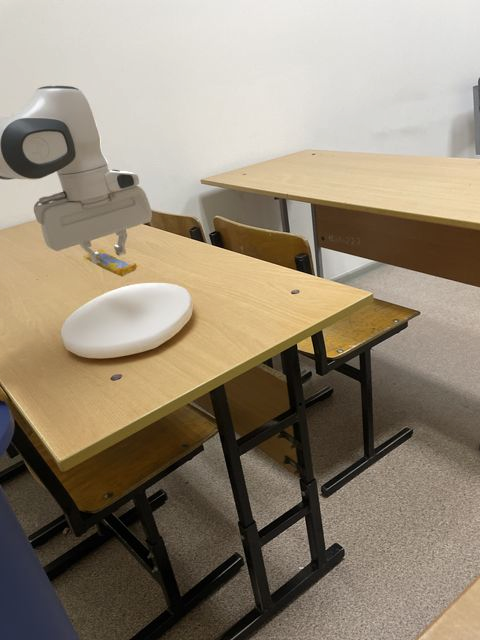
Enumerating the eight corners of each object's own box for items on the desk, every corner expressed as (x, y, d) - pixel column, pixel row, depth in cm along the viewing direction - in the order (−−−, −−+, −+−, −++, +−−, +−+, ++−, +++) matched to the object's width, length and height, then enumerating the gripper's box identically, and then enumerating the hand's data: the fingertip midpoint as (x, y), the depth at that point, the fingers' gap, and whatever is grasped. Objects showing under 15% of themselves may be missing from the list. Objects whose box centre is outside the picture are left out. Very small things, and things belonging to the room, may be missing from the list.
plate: (166, 339, 93) (31, 348, 98) (176, 369, 96) (45, 375, 102) (202, 265, 115) (90, 276, 120) (208, 291, 119) (100, 300, 124)
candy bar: (140, 272, 97) (138, 262, 96) (120, 279, 95) (117, 270, 94) (104, 255, 109) (101, 246, 108) (85, 262, 107) (82, 253, 106)
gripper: (35, 202, 87) (62, 280, 94) (145, 172, 97) (163, 245, 104) (24, 198, 92) (51, 272, 99) (131, 170, 102) (149, 239, 108)
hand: (109, 258), depth 101 cm, fingers closed on candy bar, 3 cm apart
